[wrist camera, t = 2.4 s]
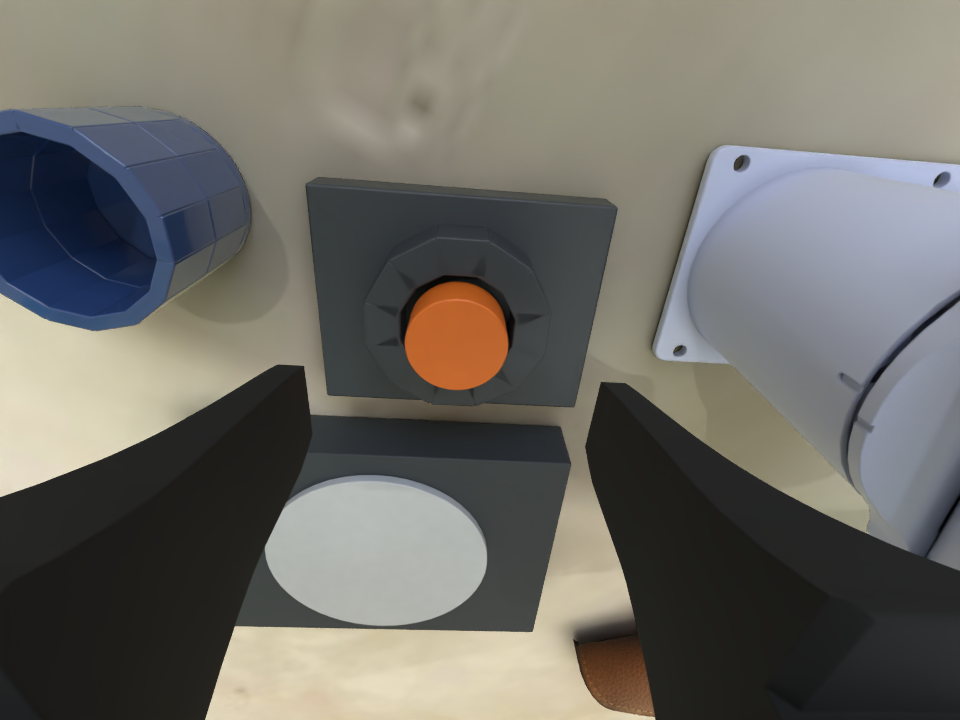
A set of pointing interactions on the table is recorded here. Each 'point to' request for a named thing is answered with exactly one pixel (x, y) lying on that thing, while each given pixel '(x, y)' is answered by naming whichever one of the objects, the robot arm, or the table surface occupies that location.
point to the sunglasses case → (616, 674)
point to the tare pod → (455, 258)
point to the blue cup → (112, 212)
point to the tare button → (456, 336)
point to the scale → (413, 528)
